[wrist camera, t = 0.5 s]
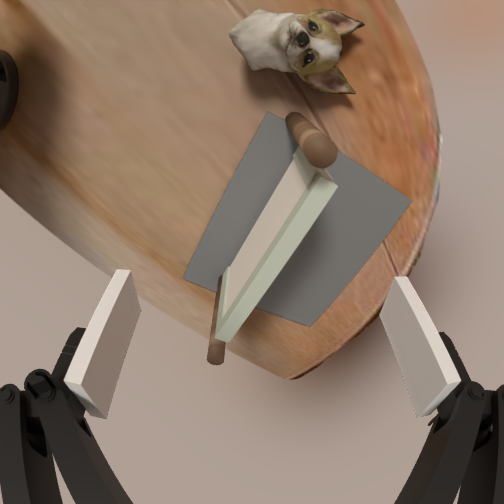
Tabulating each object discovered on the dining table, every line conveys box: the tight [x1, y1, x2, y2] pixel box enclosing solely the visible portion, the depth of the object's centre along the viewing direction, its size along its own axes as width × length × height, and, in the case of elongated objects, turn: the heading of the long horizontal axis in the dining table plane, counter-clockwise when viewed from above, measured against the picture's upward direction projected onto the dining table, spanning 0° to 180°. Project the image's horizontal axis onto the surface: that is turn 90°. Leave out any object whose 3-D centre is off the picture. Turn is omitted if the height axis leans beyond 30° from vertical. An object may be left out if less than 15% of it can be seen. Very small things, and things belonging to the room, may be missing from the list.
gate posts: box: [207, 112, 338, 365], centre depth 34 cm, size 2×28×16 cm, turn 158°
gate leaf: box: [215, 146, 338, 343], centre depth 35 cm, size 22×2×12 cm, turn 153°
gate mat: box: [183, 112, 412, 327], centre depth 43 cm, size 24×28×1 cm
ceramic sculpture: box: [229, 9, 365, 94], centre depth 26 cm, size 11×9×15 cm
